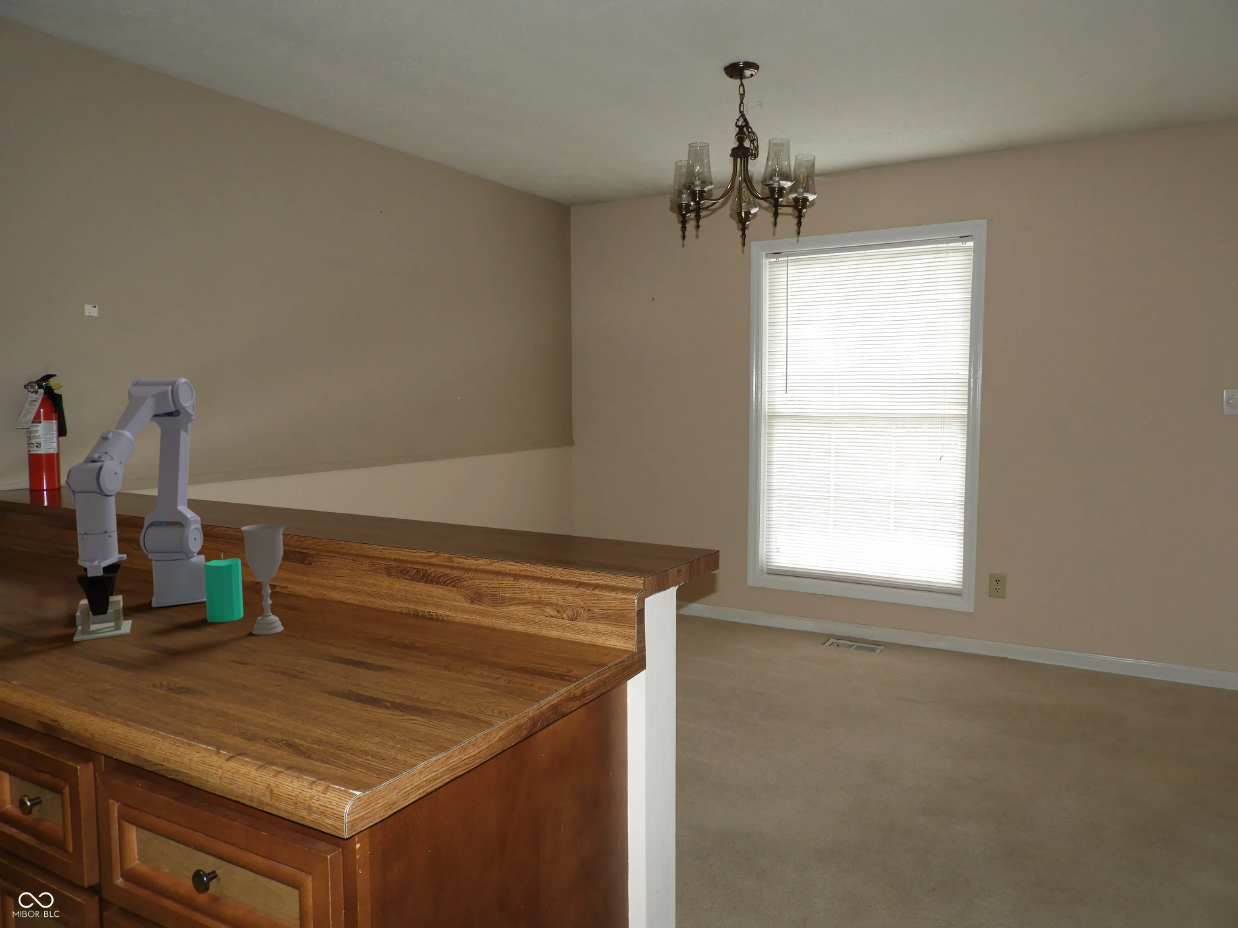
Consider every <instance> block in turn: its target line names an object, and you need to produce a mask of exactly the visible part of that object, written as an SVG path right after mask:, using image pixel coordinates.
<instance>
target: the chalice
mask: <svg viewBox="0 0 1238 928" xmlns="http://www.w3.org/2000/svg"><path fill="white" fill-rule="evenodd" d="M285 527H286V524H283V523H259V524H252V525H251V524H250V525H245V526H243V527H240V530H241V532H242V533H243V536H244V537H243V539H244V555H245V556H244V557H245V559H246V562H247V564H248V566H249V567H248V568H250V570H251V572H252V574H253V575H254V577H255V579H256V580H257V581H261V582H262V590H261V594H262V596H263V599H262V601H261V602H260V603H261V605H262V607H263V609H264V610H263V614H261V615H262V616H259V617H258V618H257V619H256V621H255V624H254V625H253V627H254V628H253V630H252V631H251V632H252V634H254V635H271V634H276V633H279V632H282V631H283V630H284V627H283V625H282V622H281V621H280V618H279V617H278V616H277V615H275V614H274V615H273V613H272V612H271V604H273V601H272V600H271V599H270V594H271V592H272V590H271V589H270V585H269V584H270V580H272V579H274V578H275V577H276V574H277V572H278V570H279V567H280V565H281V563H282V559H283V555H284V543H283V532H284V529H285Z"/></svg>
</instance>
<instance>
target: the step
mask: <svg viewBox="0 0 1238 928" xmlns="http://www.w3.org/2000/svg"><path fill="white" fill-rule="evenodd" d="M75 619H76V620H75V625H76V627H79V626H81V617H80V613H79V608H78V610H77V612H76V614H75ZM90 619H91V625H94V624H103V623H111V622H114V610H108V612H107V615H99V616H92V613H91V612H90Z"/></svg>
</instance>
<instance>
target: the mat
mask: <svg viewBox="0 0 1238 928" xmlns="http://www.w3.org/2000/svg"><path fill="white" fill-rule="evenodd" d="M132 623H133V622H132V619H130V620H123V626H122V630H115V626H114V622H109V623H100V624H92V625H91V629H90V630H89V634H82V632H81V626H77V629H76V632H75V634H74V636H73V639H72V641H73V642H81V641H89V640H97V639H106V638H112V637H121V636H128V635H130V633H131V627H132Z"/></svg>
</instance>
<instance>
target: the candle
mask: <svg viewBox="0 0 1238 928" xmlns="http://www.w3.org/2000/svg"><path fill="white" fill-rule="evenodd" d="M223 558H224V557H223V552H221V560H220V559H218V560H217V559H213V560H211V561H209V562H205V563H204V571H205V590H206V601H205V605H206V606H205V607H206V608H205V609H206V621H208V622H209V623H226V622H227V623H228V622H233V621H237V620H240V619H242V618H243V617H244V604H243V602H244V601H243V600H244V599H243V581H242V580H243V579H242V563H241V562H242V561H241V559H240V558H235V557H234V558H233V557H232V558H228V559H223Z"/></svg>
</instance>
